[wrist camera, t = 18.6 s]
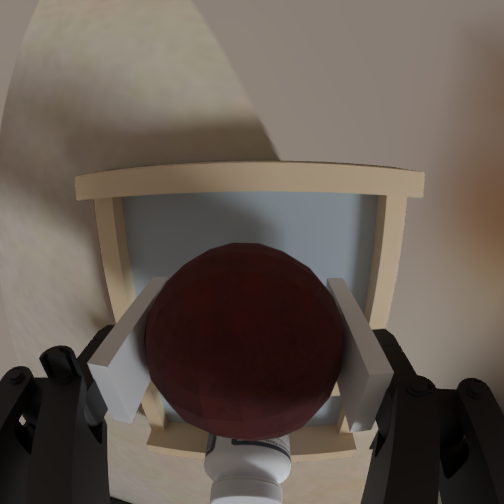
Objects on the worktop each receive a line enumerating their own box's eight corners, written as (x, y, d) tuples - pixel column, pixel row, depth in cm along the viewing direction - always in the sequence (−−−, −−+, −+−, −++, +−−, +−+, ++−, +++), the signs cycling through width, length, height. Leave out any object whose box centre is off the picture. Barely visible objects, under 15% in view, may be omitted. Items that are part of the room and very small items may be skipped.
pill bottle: (241, 429, 21) (233, 522, 12) (201, 393, 20) (177, 496, 11) (299, 408, 20) (308, 510, 11) (262, 368, 18) (260, 485, 10)
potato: (322, 215, 12) (383, 285, 6) (321, 357, 15) (347, 467, 8) (157, 230, 13) (70, 304, 6) (188, 365, 15) (157, 469, 9)
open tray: (159, 422, 22) (150, 451, 19) (107, 170, 15) (74, 176, 12) (345, 426, 21) (352, 456, 18) (394, 167, 15) (424, 172, 11)
